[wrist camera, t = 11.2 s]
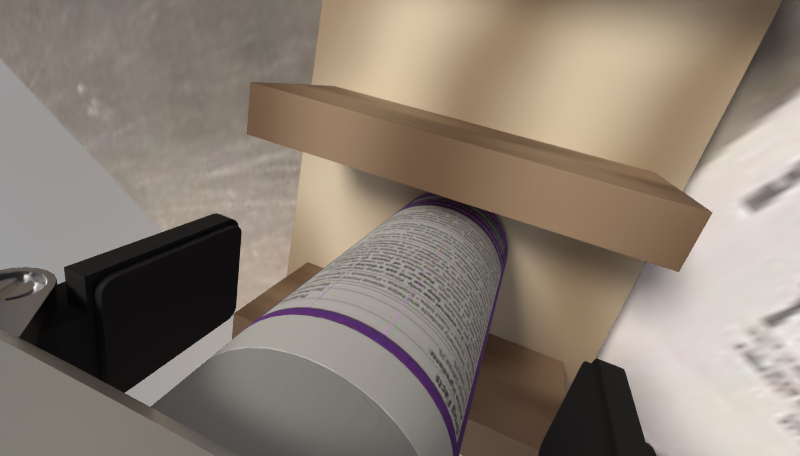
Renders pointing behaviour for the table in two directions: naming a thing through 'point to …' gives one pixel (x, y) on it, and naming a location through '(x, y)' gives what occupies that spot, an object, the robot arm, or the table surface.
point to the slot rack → (514, 159)
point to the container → (362, 347)
